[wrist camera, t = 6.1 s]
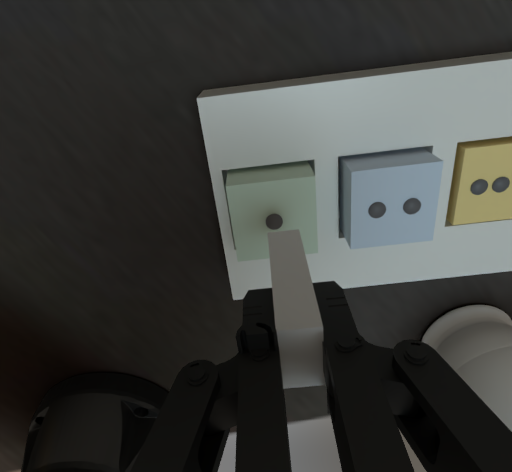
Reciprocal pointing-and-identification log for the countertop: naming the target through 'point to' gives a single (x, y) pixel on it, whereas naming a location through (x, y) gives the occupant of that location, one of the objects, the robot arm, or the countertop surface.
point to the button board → (360, 142)
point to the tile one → (271, 206)
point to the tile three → (481, 182)
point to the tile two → (389, 197)
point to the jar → (478, 353)
